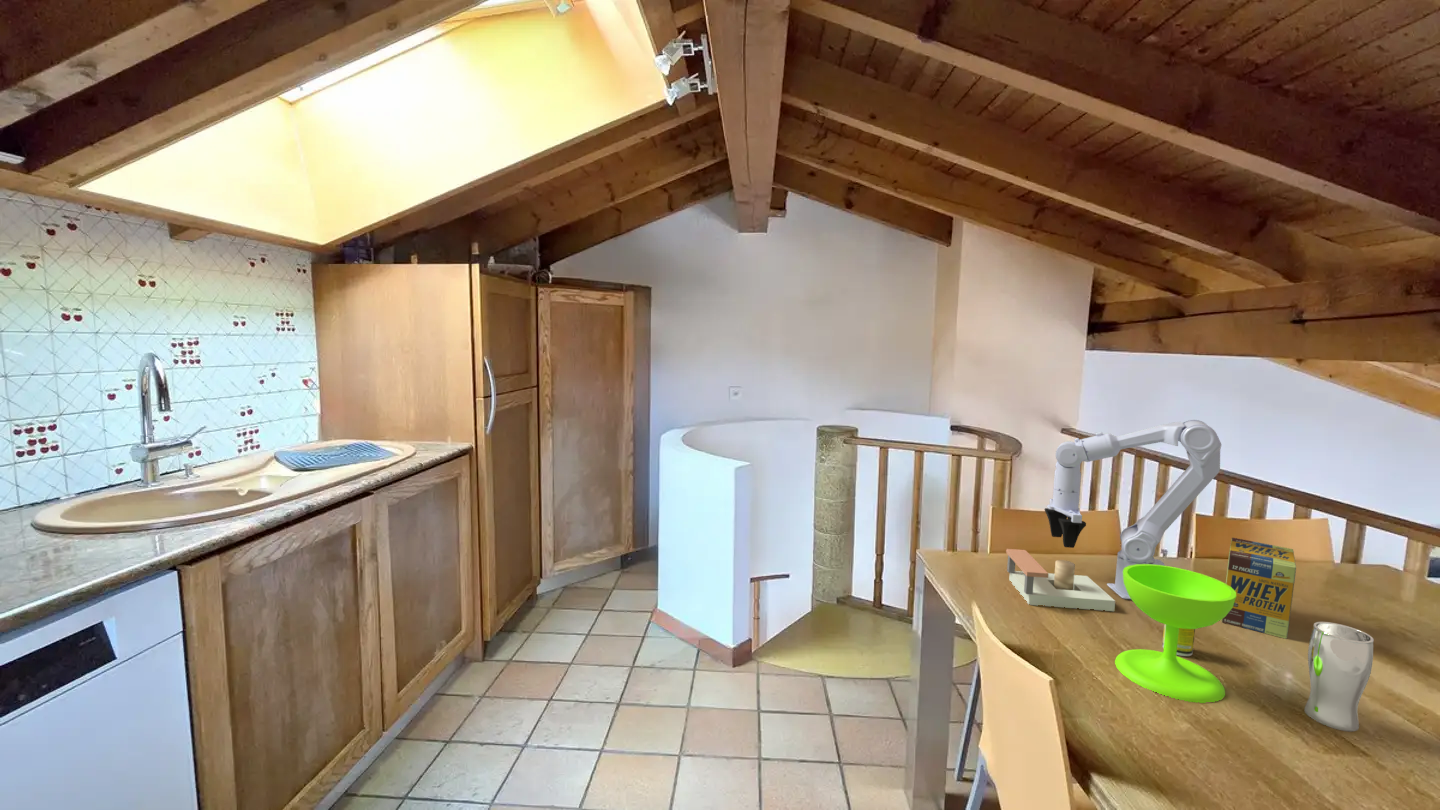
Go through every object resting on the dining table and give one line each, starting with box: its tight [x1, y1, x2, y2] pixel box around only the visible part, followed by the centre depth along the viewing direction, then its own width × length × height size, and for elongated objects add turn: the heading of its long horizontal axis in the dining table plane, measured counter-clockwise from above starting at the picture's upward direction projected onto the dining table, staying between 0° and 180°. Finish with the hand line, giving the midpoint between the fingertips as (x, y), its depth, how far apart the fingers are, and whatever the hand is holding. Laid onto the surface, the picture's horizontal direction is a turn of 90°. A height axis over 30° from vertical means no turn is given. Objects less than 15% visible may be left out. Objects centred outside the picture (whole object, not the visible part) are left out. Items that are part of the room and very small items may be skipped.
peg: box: [1054, 559, 1076, 590], centre depth 138 cm, size 4×4×8 cm
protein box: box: [1221, 537, 1297, 639], centre depth 127 cm, size 10×15×16 cm
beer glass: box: [1304, 621, 1374, 732], centre depth 93 cm, size 7×7×15 cm
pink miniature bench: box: [1005, 548, 1049, 595], centre depth 140 cm, size 4×15×6 cm, turn 170°
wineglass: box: [1114, 564, 1236, 704], centre depth 105 cm, size 16×16×18 cm
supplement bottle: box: [1161, 624, 1196, 657], centre depth 114 cm, size 5×5×8 cm
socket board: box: [1008, 570, 1116, 612], centre depth 139 cm, size 18×14×2 cm
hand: (1062, 541), depth 147 cm, fingers open, 7 cm apart
